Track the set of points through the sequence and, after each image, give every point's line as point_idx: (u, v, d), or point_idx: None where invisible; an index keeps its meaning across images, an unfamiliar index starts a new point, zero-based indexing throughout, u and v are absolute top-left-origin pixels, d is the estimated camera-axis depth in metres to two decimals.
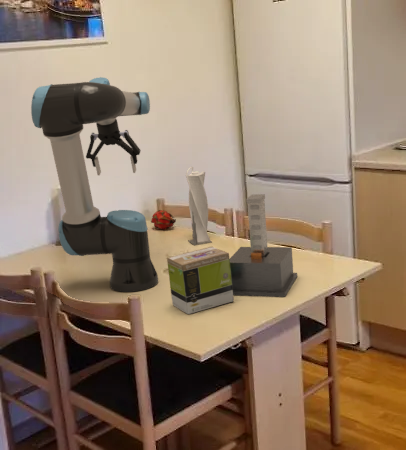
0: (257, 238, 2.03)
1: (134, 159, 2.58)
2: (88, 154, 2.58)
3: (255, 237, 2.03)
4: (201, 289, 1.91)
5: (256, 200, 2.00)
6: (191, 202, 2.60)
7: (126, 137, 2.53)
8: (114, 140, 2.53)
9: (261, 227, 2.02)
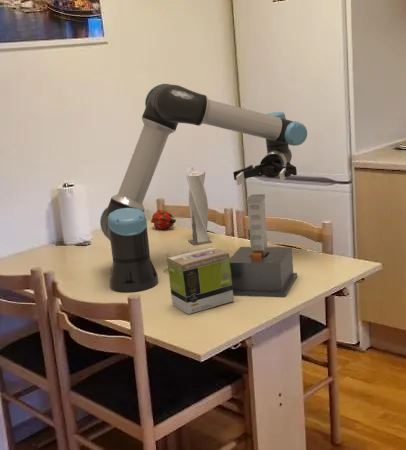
0: (257, 238, 2.03)
1: (286, 171, 2.15)
2: (237, 171, 2.24)
3: (255, 237, 2.03)
4: (201, 289, 1.91)
5: (256, 200, 2.00)
6: (191, 202, 2.60)
7: (288, 163, 2.24)
8: (274, 163, 2.25)
9: (261, 227, 2.02)
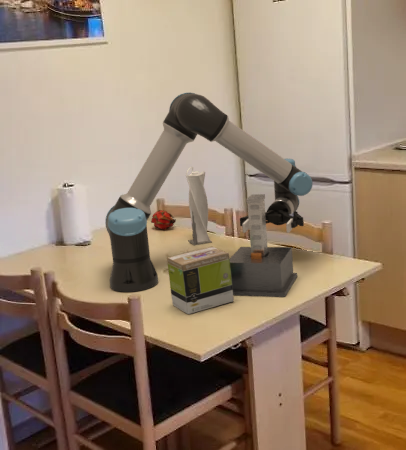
0: (257, 238, 2.03)
1: (293, 221, 2.13)
2: (244, 217, 2.22)
3: (255, 237, 2.03)
4: (201, 289, 1.91)
5: (256, 200, 2.00)
6: (191, 202, 2.60)
7: (295, 212, 2.22)
8: (281, 211, 2.23)
9: (261, 227, 2.02)
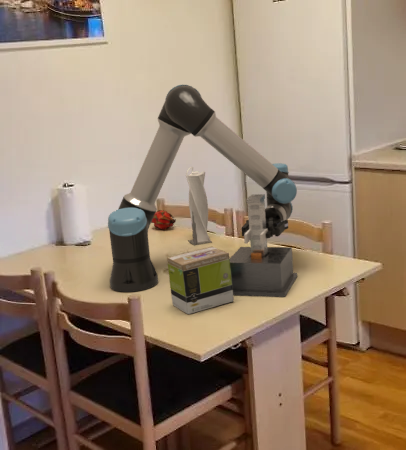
0: (257, 238, 2.03)
1: (268, 231, 2.04)
2: (244, 226, 2.10)
3: (255, 237, 2.03)
4: (201, 289, 1.91)
5: (256, 200, 2.00)
6: (191, 202, 2.60)
7: (283, 221, 2.12)
8: (271, 218, 2.14)
9: (261, 227, 2.02)
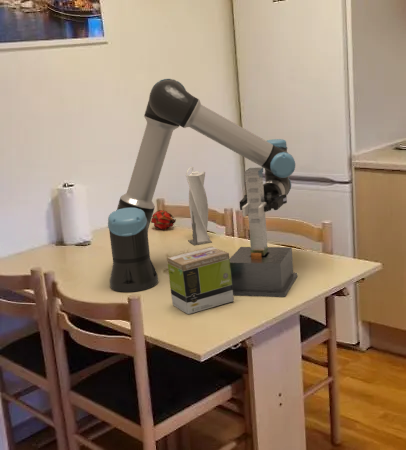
0: (255, 212, 2.01)
1: (266, 205, 2.02)
2: (242, 200, 2.08)
3: (253, 210, 2.01)
4: (201, 289, 1.91)
5: (254, 173, 1.98)
6: (191, 202, 2.60)
7: (282, 195, 2.10)
8: (269, 193, 2.12)
9: (259, 200, 2.00)
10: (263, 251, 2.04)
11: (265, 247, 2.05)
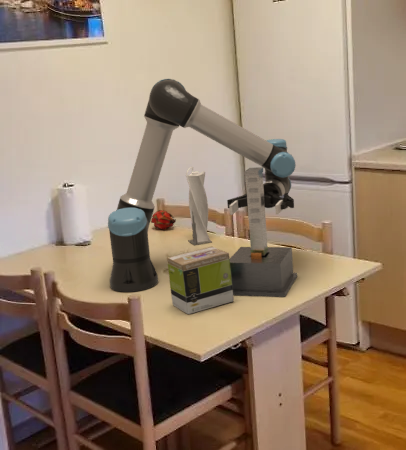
0: (255, 211, 2.01)
1: (283, 203, 2.03)
2: (232, 199, 2.11)
3: (253, 210, 2.01)
4: (201, 289, 1.91)
5: (254, 172, 1.98)
6: (191, 202, 2.60)
7: (285, 194, 2.11)
8: (271, 193, 2.12)
9: (259, 200, 2.00)
10: (263, 251, 2.04)
11: (265, 247, 2.05)
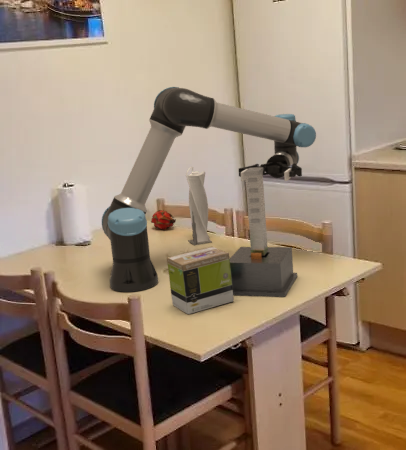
0: (255, 211, 2.01)
1: (292, 171, 2.14)
2: (243, 168, 2.23)
3: (253, 210, 2.01)
4: (201, 289, 1.91)
5: (254, 172, 1.98)
6: (191, 202, 2.60)
7: (294, 164, 2.23)
8: (280, 163, 2.24)
9: (259, 200, 2.00)
10: (263, 251, 2.04)
11: (265, 247, 2.05)
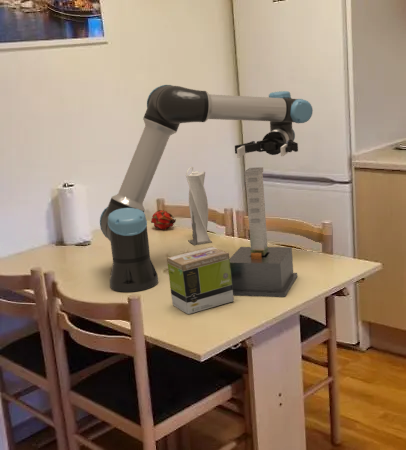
0: (255, 211, 2.01)
1: (288, 146, 2.14)
2: (239, 145, 2.23)
3: (253, 210, 2.01)
4: (201, 289, 1.91)
5: (254, 172, 1.98)
6: (191, 202, 2.60)
7: (290, 140, 2.23)
8: (276, 139, 2.24)
9: (259, 200, 2.00)
10: (263, 251, 2.04)
11: (265, 247, 2.05)
